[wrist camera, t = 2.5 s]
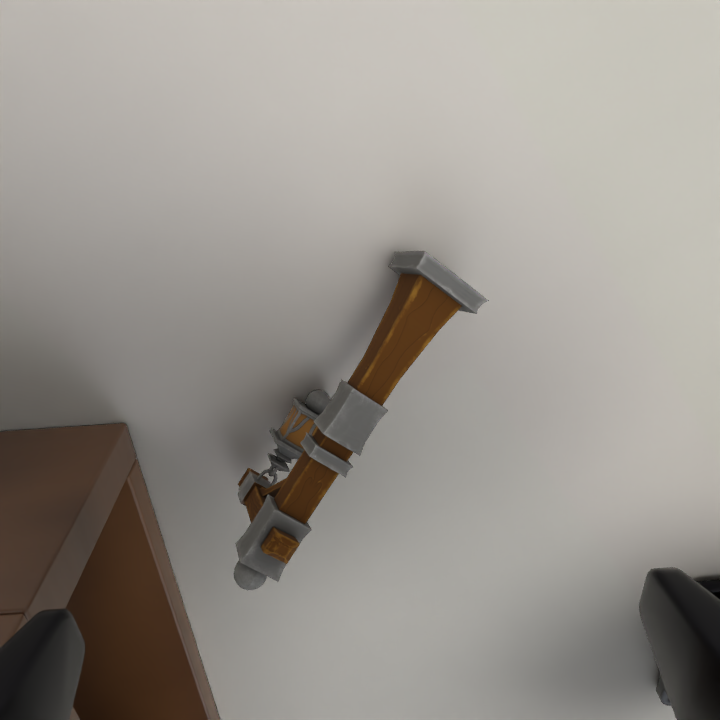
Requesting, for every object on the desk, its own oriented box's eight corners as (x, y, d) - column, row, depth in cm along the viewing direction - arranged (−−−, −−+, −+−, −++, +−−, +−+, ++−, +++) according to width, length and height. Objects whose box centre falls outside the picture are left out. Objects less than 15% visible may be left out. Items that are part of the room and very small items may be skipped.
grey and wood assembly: (201, 500, 16) (205, 591, 11) (363, 252, 16) (429, 250, 11) (258, 529, 16) (282, 626, 12) (414, 290, 16) (494, 301, 12)
